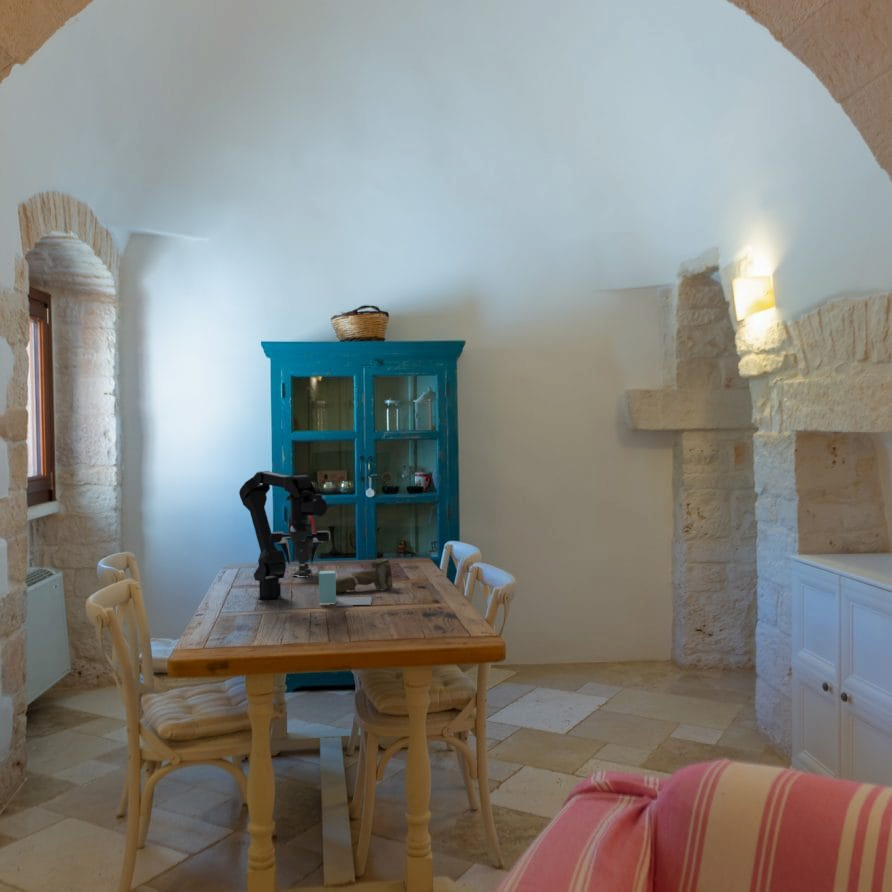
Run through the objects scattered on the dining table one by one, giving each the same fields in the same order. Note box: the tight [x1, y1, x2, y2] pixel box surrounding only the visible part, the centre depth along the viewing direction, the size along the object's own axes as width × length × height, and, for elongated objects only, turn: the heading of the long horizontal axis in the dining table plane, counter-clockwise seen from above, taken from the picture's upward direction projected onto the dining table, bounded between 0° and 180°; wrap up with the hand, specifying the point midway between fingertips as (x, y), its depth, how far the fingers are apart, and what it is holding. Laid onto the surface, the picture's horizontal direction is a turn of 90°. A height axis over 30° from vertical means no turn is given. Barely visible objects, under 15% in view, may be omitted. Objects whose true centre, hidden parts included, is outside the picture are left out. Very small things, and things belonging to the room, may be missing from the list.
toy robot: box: [287, 513, 318, 576], centre depth 322 cm, size 22×9×30 cm, turn 178°
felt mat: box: [335, 596, 373, 607], centre depth 269 cm, size 11×12×1 cm
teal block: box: [318, 570, 337, 606], centre depth 268 cm, size 5×5×10 cm
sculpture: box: [336, 558, 393, 594], centre depth 290 cm, size 8×22×15 cm
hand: (300, 563), depth 268 cm, fingers open, 7 cm apart
